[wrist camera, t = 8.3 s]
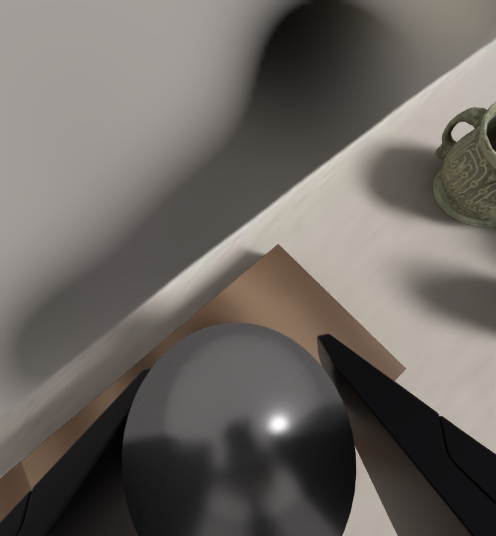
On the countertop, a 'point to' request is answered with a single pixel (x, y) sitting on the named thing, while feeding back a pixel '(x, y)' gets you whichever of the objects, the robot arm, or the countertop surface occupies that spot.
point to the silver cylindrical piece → (238, 440)
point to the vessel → (469, 170)
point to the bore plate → (217, 312)
